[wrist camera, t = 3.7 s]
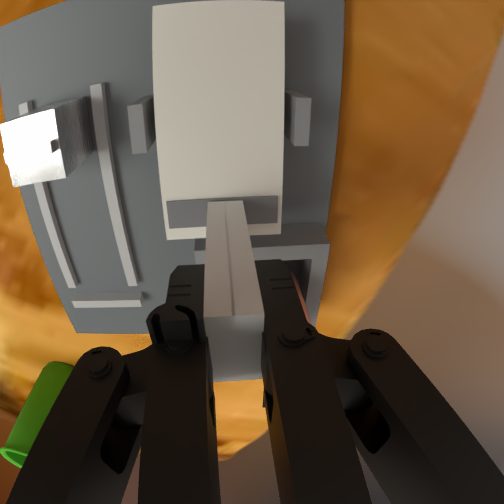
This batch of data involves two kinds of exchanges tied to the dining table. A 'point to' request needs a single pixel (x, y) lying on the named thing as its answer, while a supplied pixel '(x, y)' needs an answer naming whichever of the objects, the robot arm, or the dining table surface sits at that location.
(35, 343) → the dining table surface
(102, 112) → the panel
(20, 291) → the dining table surface
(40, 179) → the slider knob
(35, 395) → the cup
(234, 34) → the paddle
